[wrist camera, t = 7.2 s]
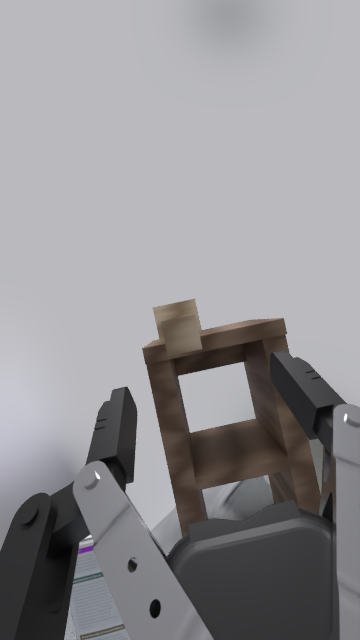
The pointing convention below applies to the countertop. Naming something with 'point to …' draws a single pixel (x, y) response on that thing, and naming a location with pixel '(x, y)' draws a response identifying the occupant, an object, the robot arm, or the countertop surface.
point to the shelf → (234, 439)
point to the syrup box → (93, 600)
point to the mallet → (179, 327)
